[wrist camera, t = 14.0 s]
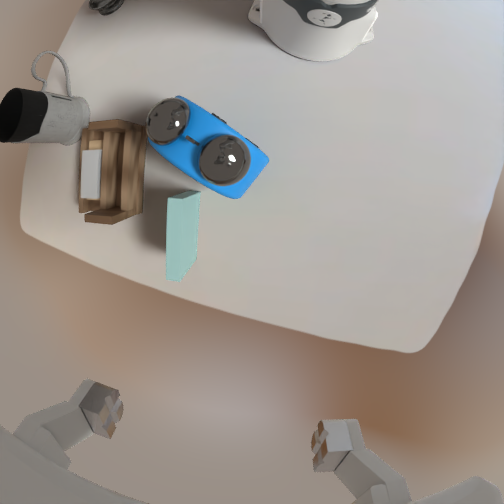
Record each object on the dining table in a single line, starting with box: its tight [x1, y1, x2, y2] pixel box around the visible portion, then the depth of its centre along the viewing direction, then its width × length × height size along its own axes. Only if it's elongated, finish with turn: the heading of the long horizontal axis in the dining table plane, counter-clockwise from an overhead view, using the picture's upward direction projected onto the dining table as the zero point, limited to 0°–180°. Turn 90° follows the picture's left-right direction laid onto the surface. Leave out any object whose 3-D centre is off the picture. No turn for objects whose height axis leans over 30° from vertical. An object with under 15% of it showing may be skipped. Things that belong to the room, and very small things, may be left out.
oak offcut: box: [87, 140, 103, 200], centre depth 35 cm, size 9×3×2 cm, turn 174°
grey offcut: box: [81, 150, 103, 199], centre depth 33 cm, size 7×3×2 cm, turn 174°
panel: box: [166, 191, 201, 282], centre depth 35 cm, size 10×2×8 cm, turn 174°
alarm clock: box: [145, 96, 269, 199], centre depth 28 cm, size 13×6×15 cm, turn 53°
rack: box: [79, 119, 147, 225], centre depth 33 cm, size 13×10×8 cm
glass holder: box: [0, 51, 90, 145], centre depth 26 cm, size 9×14×15 cm, turn 156°
